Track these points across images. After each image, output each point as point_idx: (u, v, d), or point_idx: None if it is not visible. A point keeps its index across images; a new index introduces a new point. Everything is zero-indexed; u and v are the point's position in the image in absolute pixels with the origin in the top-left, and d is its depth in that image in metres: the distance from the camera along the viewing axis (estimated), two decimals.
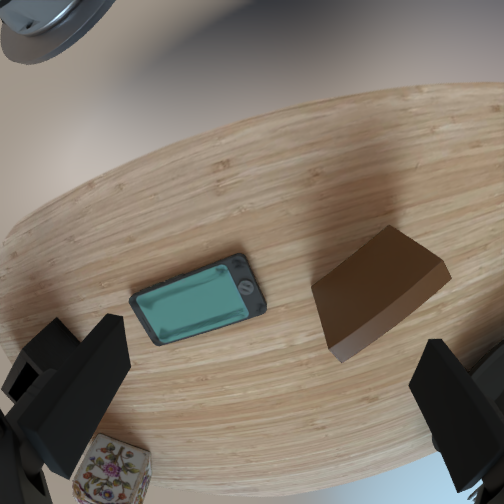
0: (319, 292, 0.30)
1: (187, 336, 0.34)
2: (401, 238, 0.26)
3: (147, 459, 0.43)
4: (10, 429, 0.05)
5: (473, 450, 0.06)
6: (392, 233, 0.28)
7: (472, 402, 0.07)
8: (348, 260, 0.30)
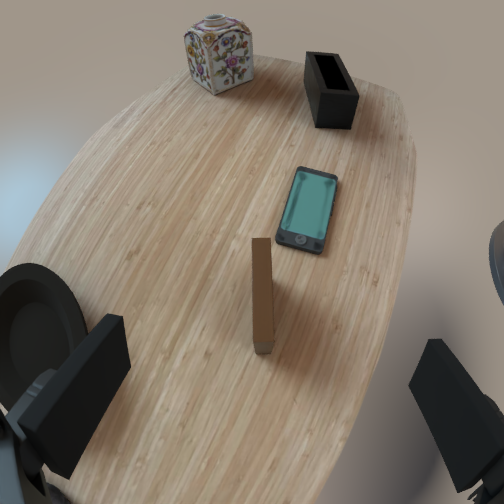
0: None
1: (292, 186, 0.47)
2: None
3: (213, 88, 0.59)
4: (10, 429, 0.05)
5: (473, 450, 0.06)
6: None
7: (472, 402, 0.07)
8: None
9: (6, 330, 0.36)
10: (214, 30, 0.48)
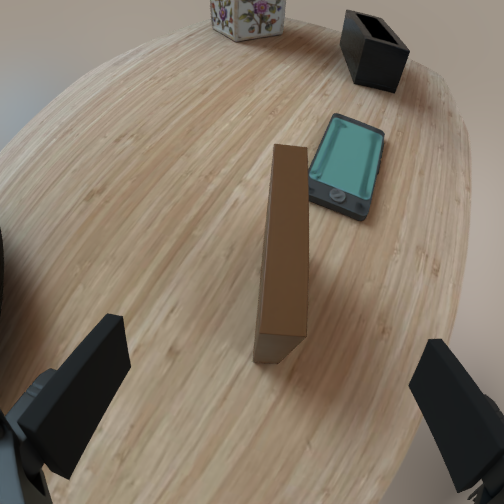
0: None
1: (327, 132, 0.33)
2: None
3: (235, 33, 0.45)
4: (10, 429, 0.05)
5: (473, 450, 0.06)
6: None
7: (472, 402, 0.07)
8: None
9: None
10: None
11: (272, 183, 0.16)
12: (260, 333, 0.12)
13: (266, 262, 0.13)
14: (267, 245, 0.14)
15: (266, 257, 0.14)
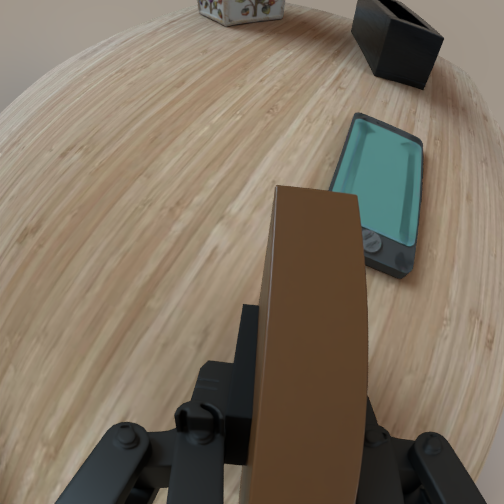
0: None
1: (348, 139, 0.23)
2: None
3: (225, 16, 0.35)
4: (222, 435, 0.06)
5: None
6: None
7: None
8: None
9: None
10: None
11: (269, 321, 0.05)
12: None
13: None
14: None
15: None
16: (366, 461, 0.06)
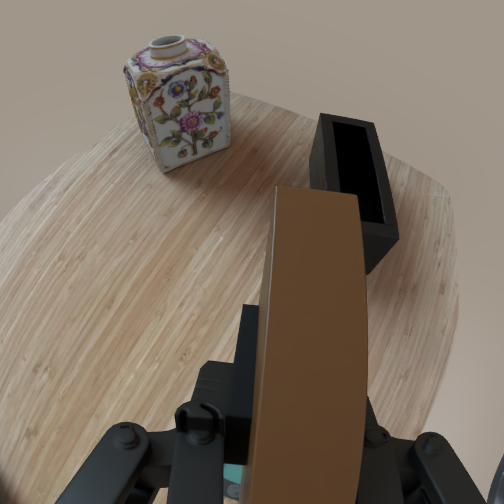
0: None
1: None
2: None
3: (160, 164, 0.39)
4: (222, 435, 0.06)
5: None
6: None
7: None
8: None
9: None
10: (157, 68, 0.28)
11: (269, 322, 0.05)
12: None
13: None
14: None
15: None
16: (366, 461, 0.06)
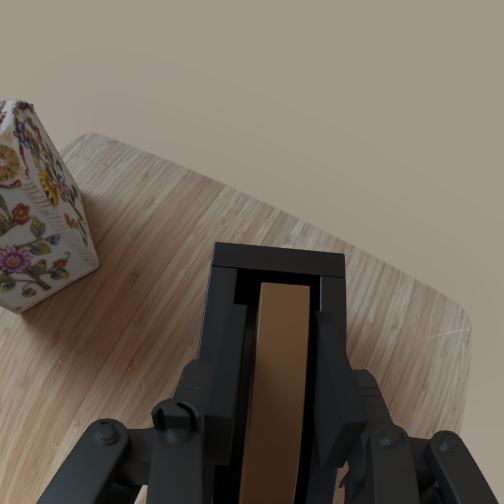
0: None
1: None
2: None
3: (7, 309, 0.21)
4: (200, 433, 0.06)
5: (328, 422, 0.08)
6: None
7: (330, 370, 0.09)
8: None
9: None
10: None
11: (256, 360, 0.11)
12: None
13: (245, 474, 0.09)
14: (247, 453, 0.09)
15: (245, 468, 0.09)
16: (384, 460, 0.06)
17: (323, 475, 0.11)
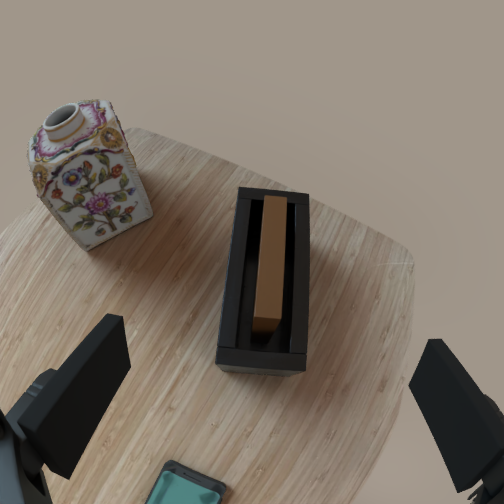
0: None
1: (152, 492, 0.23)
2: None
3: (79, 245, 0.35)
4: (10, 429, 0.05)
5: (473, 450, 0.06)
6: None
7: (472, 402, 0.07)
8: None
9: None
10: (48, 157, 0.24)
11: (263, 225, 0.25)
12: (255, 316, 0.22)
13: (258, 276, 0.23)
14: (259, 265, 0.23)
15: (258, 273, 0.23)
16: None
17: (300, 306, 0.26)
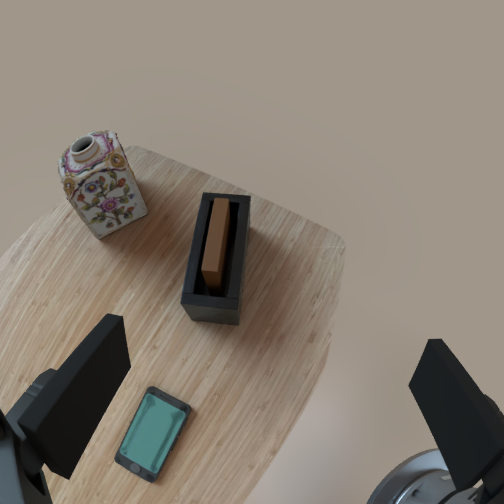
0: (230, 236, 0.49)
1: (137, 411, 0.38)
2: (222, 287, 0.43)
3: (94, 234, 0.50)
4: (10, 429, 0.05)
5: (473, 450, 0.06)
6: (223, 292, 0.45)
7: (472, 402, 0.07)
8: None
9: None
10: (75, 173, 0.39)
11: (211, 216, 0.40)
12: (202, 270, 0.36)
13: None
14: None
15: (206, 245, 0.38)
16: None
17: (236, 268, 0.40)
